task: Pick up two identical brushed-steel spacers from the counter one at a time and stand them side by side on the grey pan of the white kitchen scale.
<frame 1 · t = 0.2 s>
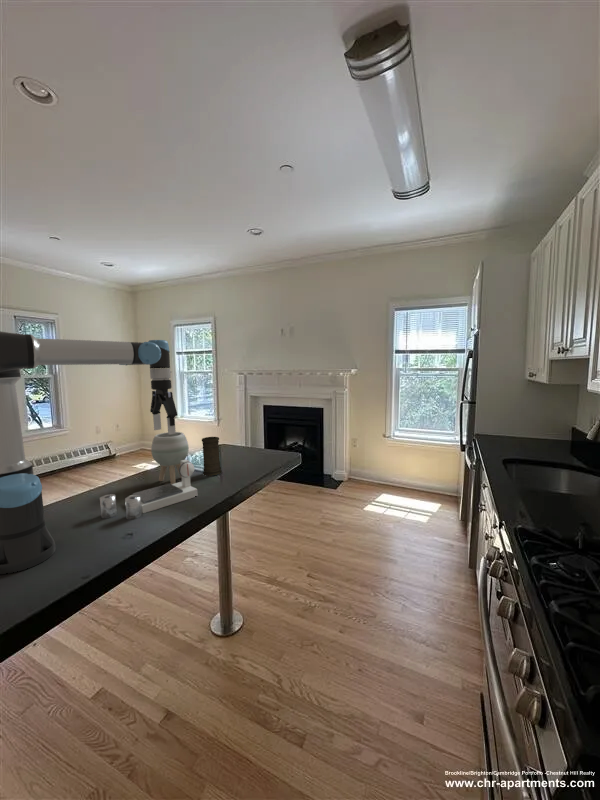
hand: (164, 431, 138), 27 cm above the breakfast bar, fingers open, 13 cm apart
scale: (164, 499, 138), on the breakfast bar
spacer 2: (134, 516, 123), on the breakfast bar
planter: (172, 481, 160), on the breakfast bar
spacer 1: (109, 515, 124), on the breakfast bar
container: (212, 473, 169), on the breakfast bar
pan: (158, 492, 136), point 4 cm above the breakfast bar, slide at 0.3 cm
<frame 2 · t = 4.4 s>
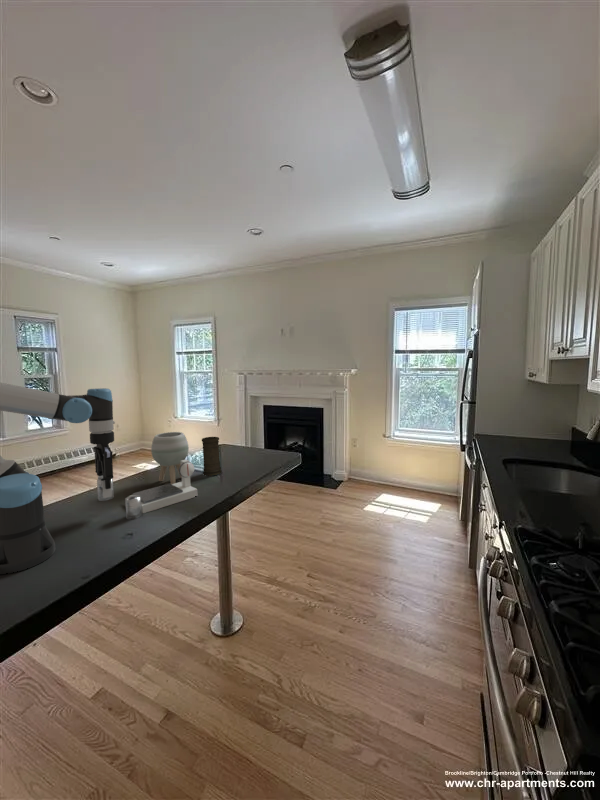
hand: (105, 494, 123), 8 cm above the breakfast bar, fingers closed on spacer 1, 5 cm apart
spacer 1: (106, 498, 123), point 7 cm above the breakfast bar, touching gripper
everything else where it was.
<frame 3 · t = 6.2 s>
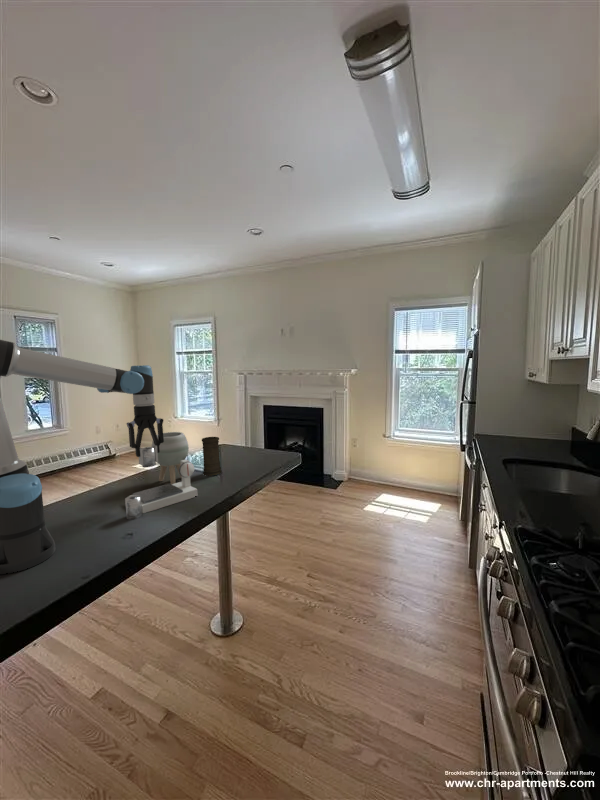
hand: (148, 462, 135), 16 cm above the breakfast bar, fingers closed on spacer 1, 5 cm apart
spacer 1: (149, 465, 135), point 15 cm above the breakfast bar, touching gripper
everything else where it was.
when the fingers open (5 cm above the breakfast bar, at t = 8.4 s): spacer 1 stays where it is, resting on pan.
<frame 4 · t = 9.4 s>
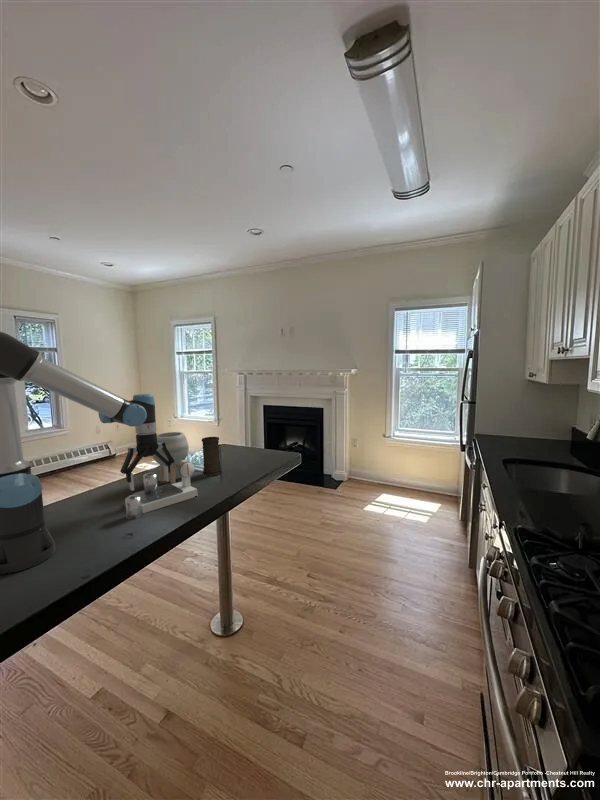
hand: (149, 485, 136), 6 cm above the breakfast bar, fingers open, 13 cm apart
spacer 1: (151, 491, 137), point 4 cm above the breakfast bar, touching pan
pan: (158, 492, 136), point 4 cm above the breakfast bar, slide at 0.4 cm, touching spacer 1
everything else where it was.
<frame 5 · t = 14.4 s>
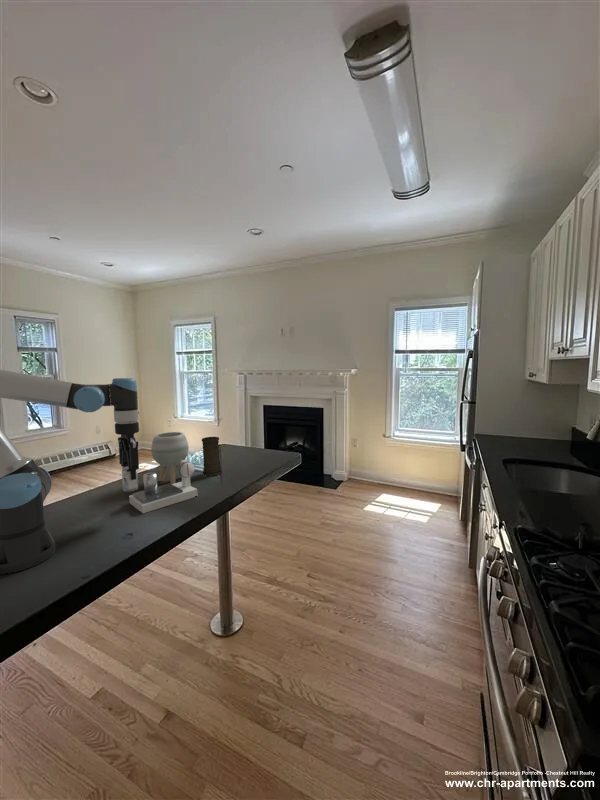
hand: (130, 486, 122), 11 cm above the breakfast bar, fingers closed on spacer 2, 5 cm apart
spacer 2: (130, 489, 122), point 10 cm above the breakfast bar, touching gripper
everything else where it was.
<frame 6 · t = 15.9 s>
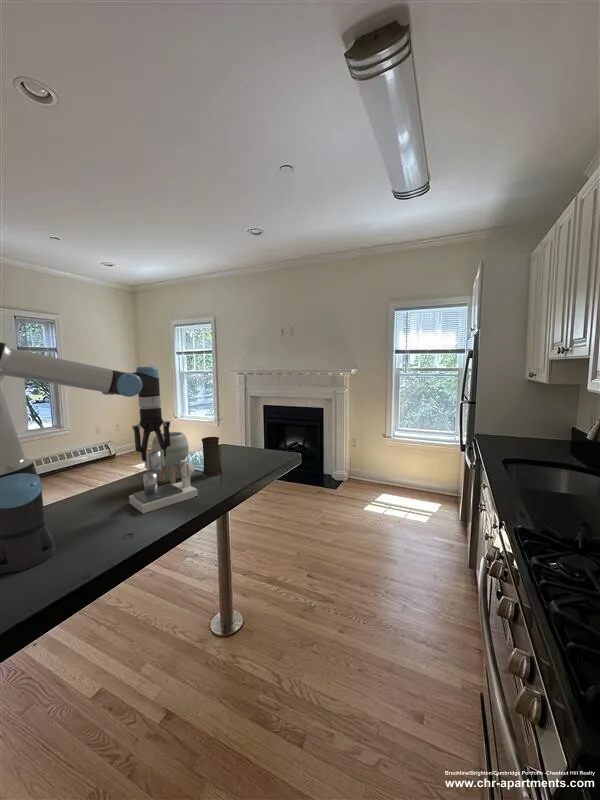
hand: (154, 466, 131), 15 cm above the breakfast bar, fingers closed on spacer 2, 5 cm apart
spacer 2: (155, 469, 131), point 14 cm above the breakfast bar, touching gripper
everything else where it was.
when the fingers open (5 cm above the breakfast bar, at t = 18.0 s): spacer 2 stays where it is, resting on pan.
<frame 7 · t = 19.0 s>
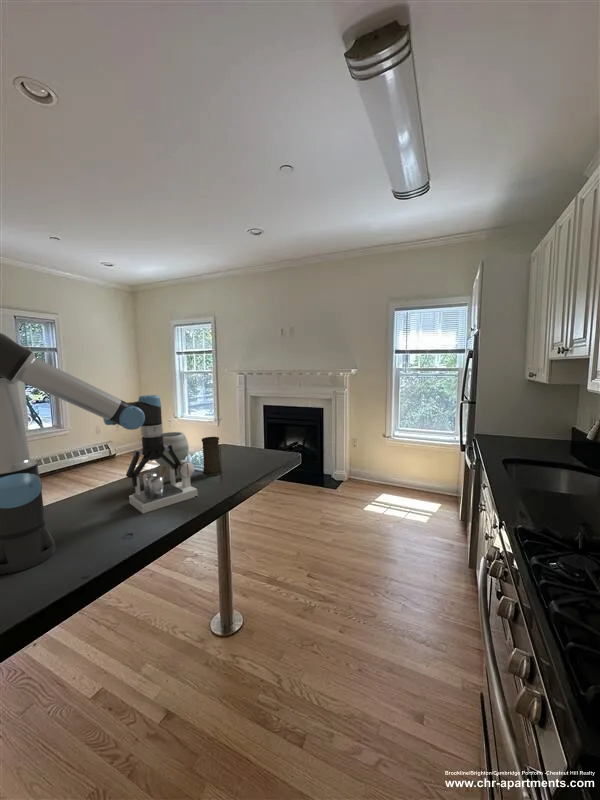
hand: (156, 489, 132), 6 cm above the breakfast bar, fingers open, 13 cm apart
spacer 2: (157, 495, 132), point 4 cm above the breakfast bar, touching pan
pan: (158, 492, 136), point 4 cm above the breakfast bar, slide at 0.4 cm, touching spacer 1, spacer 2
everything else where it was.
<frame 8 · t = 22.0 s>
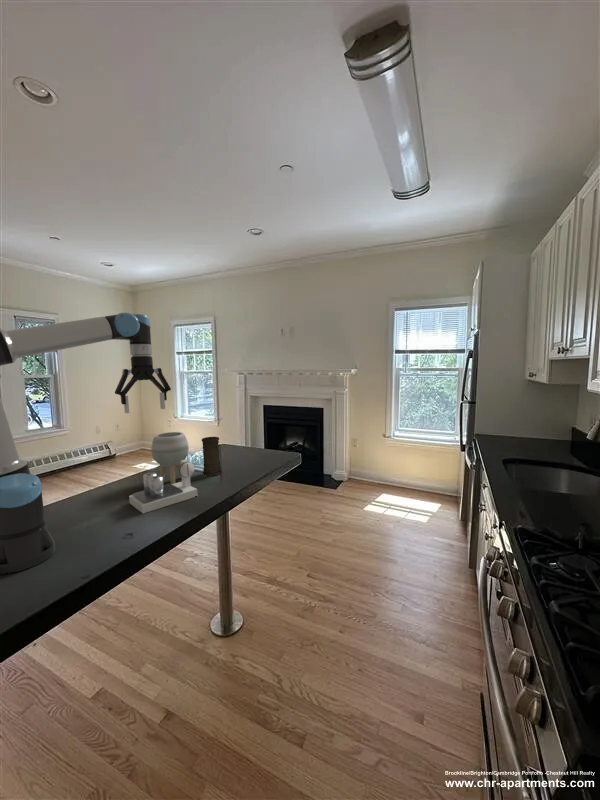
hand: (145, 410, 132), 37 cm above the breakfast bar, fingers open, 13 cm apart
nothing on the breakfast bar moved.
at the end: spacer 1 inside the target area on the scale (1.6 cm from its centre), point 3.9 cm above the scale's base; spacer 2 inside the target area on the scale (1.4 cm from its centre), point 3.9 cm above the scale's base; spacer 2 tilted 0° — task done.
